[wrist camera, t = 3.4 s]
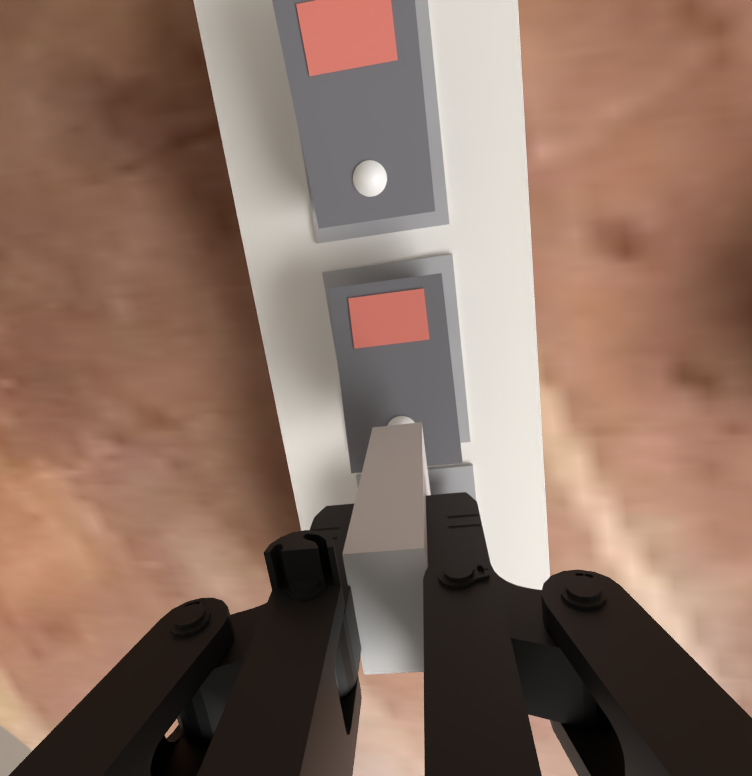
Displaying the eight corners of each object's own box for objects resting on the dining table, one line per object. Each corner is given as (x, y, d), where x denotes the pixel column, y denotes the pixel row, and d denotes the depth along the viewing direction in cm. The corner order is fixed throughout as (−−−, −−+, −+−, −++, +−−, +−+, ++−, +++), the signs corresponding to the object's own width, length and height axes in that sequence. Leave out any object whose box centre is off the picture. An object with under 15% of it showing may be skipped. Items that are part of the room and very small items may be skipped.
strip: (178, -239, 18) (84, -421, 13) (474, -317, 17) (498, -552, 12) (335, 592, 27) (317, 674, 22) (533, 578, 26) (561, 662, 21)
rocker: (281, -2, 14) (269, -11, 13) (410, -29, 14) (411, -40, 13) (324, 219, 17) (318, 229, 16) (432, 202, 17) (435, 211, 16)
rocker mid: (336, 293, 18) (328, 288, 17) (440, 279, 18) (441, 272, 16) (357, 464, 18) (350, 473, 17) (460, 454, 18) (462, 463, 16)
